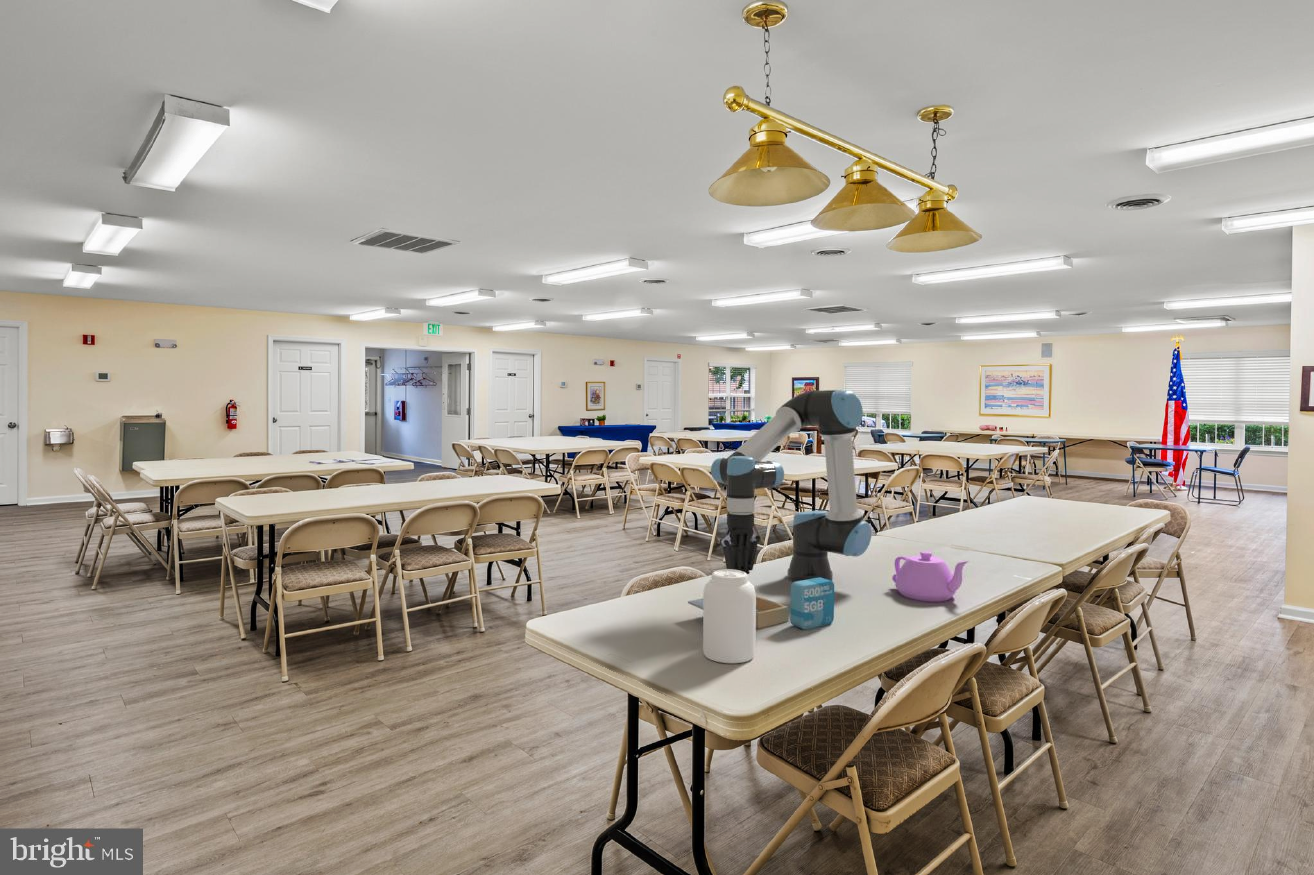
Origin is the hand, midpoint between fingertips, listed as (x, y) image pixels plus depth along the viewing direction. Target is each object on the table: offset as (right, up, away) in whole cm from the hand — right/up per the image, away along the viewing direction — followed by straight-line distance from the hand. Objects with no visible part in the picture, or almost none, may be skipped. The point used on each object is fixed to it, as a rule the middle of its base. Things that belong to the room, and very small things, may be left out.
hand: (739, 596), depth 189 cm
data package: (+19, -7, -4) cm, 21 cm away
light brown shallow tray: (+4, -6, +3) cm, 8 cm away
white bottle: (-6, -8, -26) cm, 28 cm away
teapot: (+62, -6, +24) cm, 67 cm away
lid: (-5, -2, -3) cm, 6 cm away
